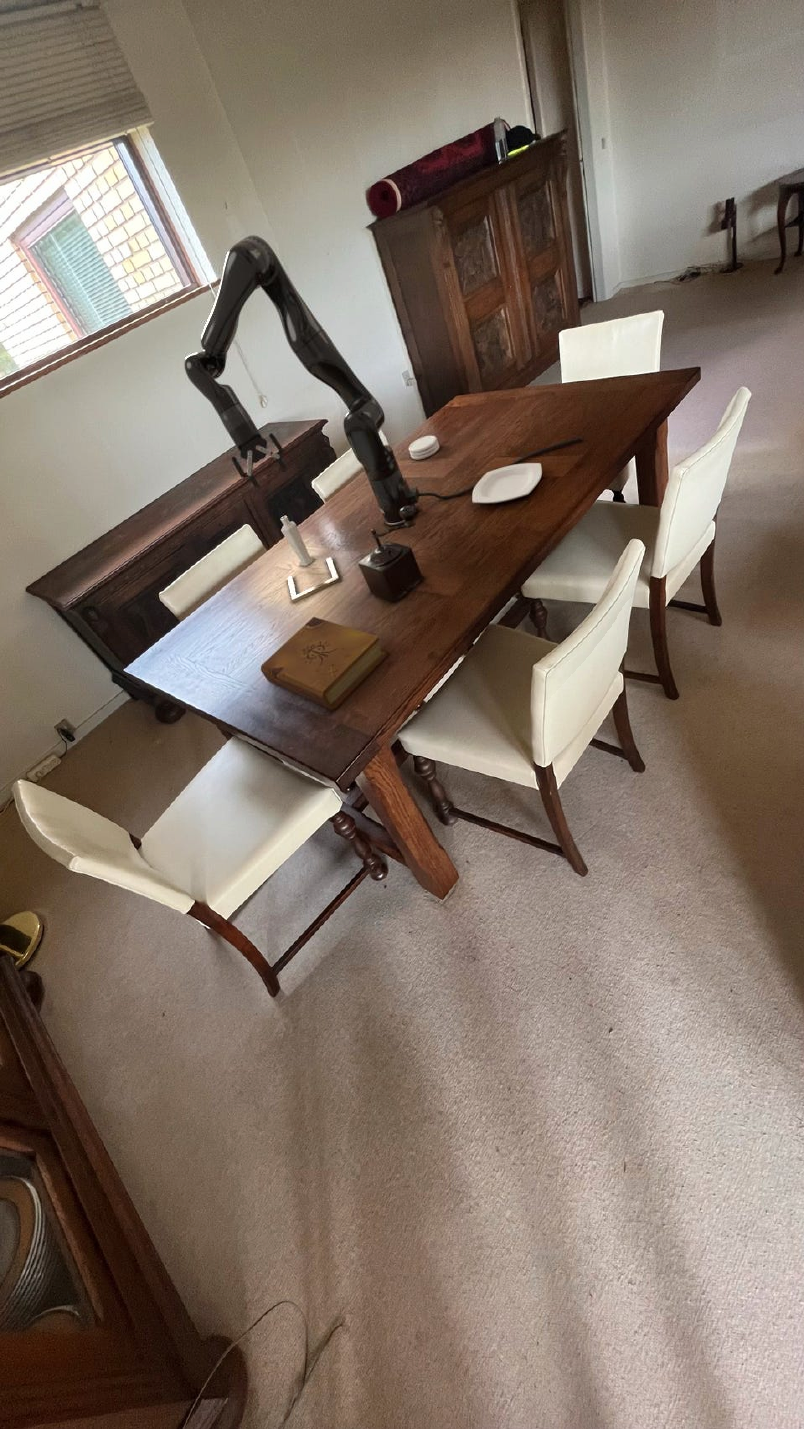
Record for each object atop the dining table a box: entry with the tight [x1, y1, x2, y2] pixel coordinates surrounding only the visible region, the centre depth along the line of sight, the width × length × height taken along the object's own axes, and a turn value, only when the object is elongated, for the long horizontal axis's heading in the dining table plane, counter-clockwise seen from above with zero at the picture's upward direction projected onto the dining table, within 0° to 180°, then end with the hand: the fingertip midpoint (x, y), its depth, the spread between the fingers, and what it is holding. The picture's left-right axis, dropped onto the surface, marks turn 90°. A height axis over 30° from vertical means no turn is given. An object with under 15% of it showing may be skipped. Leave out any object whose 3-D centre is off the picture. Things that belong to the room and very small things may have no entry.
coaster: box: [408, 435, 440, 461], centre depth 209 cm, size 10×10×4 cm
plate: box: [471, 462, 543, 504], centre depth 172 cm, size 19×19×2 cm
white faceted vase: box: [280, 515, 314, 567], centre depth 180 cm, size 5×4×15 cm
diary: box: [260, 616, 388, 711], centre depth 142 cm, size 23×19×6 cm
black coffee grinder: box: [357, 506, 424, 603], centre depth 153 cm, size 16×11×18 cm
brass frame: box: [286, 556, 341, 604], centre depth 176 cm, size 13×14×1 cm
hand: (272, 479), depth 179 cm, fingers open, 8 cm apart
